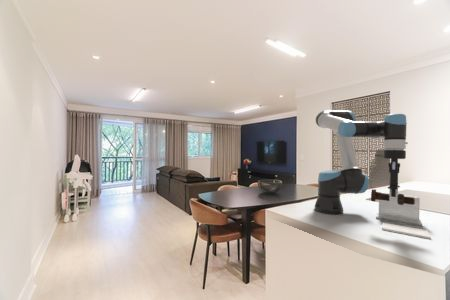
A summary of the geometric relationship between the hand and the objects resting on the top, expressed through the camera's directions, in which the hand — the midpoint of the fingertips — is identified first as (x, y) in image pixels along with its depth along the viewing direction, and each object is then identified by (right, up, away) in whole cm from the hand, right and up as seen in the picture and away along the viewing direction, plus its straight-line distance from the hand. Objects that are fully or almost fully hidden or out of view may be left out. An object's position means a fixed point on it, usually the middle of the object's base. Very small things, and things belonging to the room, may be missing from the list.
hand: (393, 202), depth 95 cm
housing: (+16, -13, +17) cm, 27 cm away
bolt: (0, -1, 0) cm, 1 cm away
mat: (+6, -13, +2) cm, 14 cm away
